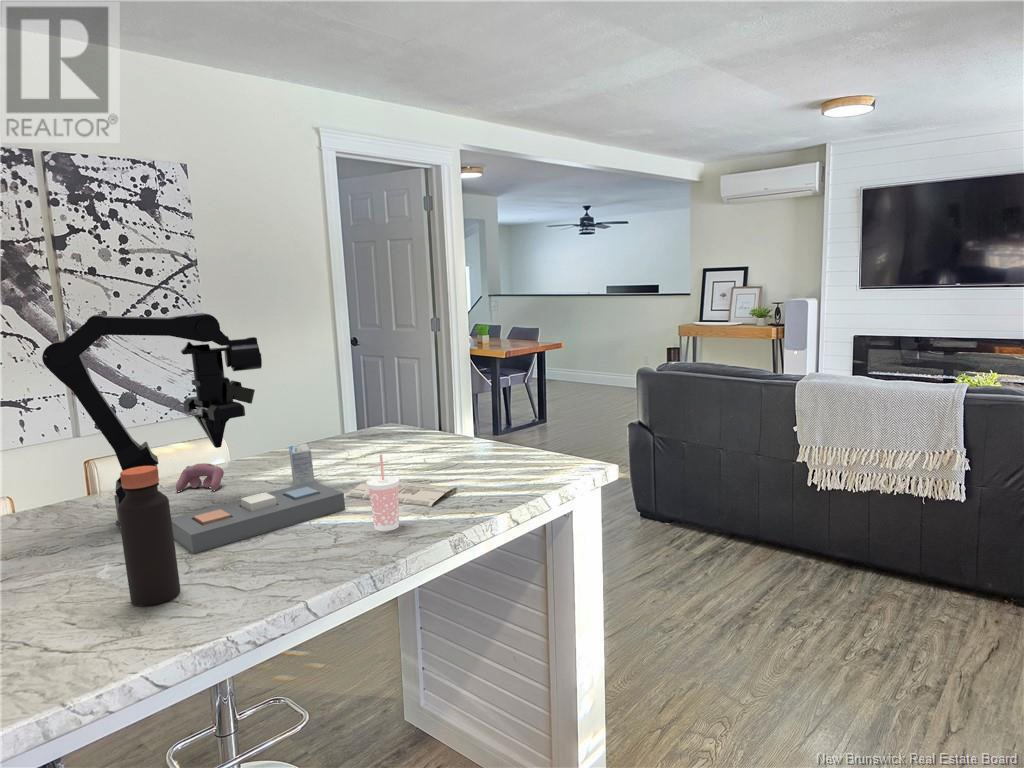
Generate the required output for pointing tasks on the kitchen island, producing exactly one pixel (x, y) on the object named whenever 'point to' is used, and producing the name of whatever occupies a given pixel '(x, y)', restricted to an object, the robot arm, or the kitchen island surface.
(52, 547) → the kitchen island surface
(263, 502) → the offwhite key
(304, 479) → the medicine box
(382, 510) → the beverage cup
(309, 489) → the slate blue key
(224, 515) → the terracotta key
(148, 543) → the bottle
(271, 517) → the key panel
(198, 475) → the video game controller
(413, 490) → the newspaper
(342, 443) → the kitchen island surface
